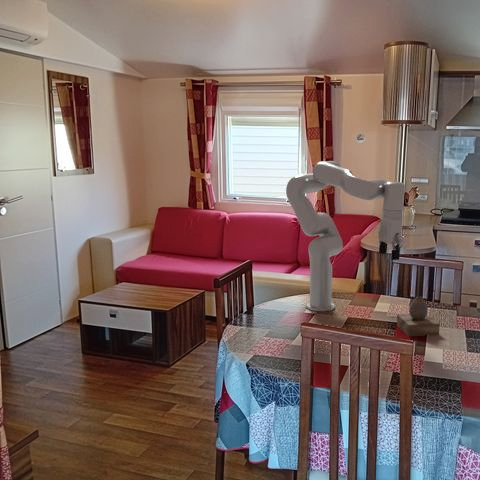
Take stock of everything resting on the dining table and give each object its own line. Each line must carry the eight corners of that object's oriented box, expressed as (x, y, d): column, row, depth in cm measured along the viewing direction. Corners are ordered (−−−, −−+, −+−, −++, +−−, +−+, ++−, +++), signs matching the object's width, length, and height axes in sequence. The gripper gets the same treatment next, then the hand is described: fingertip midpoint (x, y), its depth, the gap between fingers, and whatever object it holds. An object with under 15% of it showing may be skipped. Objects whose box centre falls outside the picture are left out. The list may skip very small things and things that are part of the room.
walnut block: (396, 326, 217) (397, 314, 216) (425, 325, 218) (426, 313, 217) (408, 337, 206) (408, 325, 205) (438, 336, 207) (439, 323, 206)
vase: (429, 322, 208) (430, 300, 206) (410, 321, 208) (412, 299, 207) (424, 316, 214) (426, 294, 213) (406, 315, 215) (408, 294, 213)
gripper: (373, 210, 217) (369, 251, 221) (395, 218, 201) (391, 262, 205) (390, 209, 219) (386, 250, 223) (413, 217, 203) (408, 261, 207)
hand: (388, 256), depth 214 cm, fingers open, 9 cm apart
